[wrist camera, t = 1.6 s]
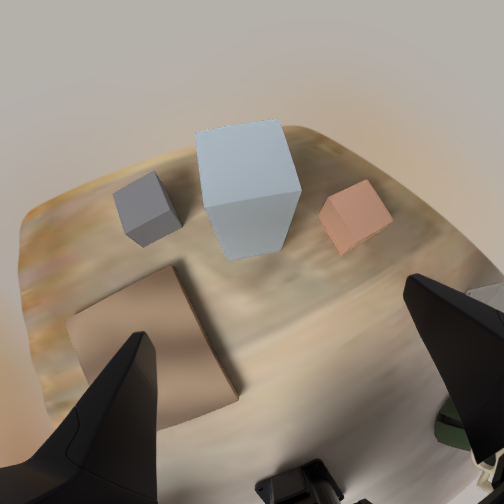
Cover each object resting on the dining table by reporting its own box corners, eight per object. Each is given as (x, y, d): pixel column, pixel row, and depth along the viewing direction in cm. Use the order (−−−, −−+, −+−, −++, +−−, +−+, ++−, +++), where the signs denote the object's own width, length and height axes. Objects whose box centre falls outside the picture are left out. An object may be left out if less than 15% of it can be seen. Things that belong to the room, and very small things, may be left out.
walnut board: (239, 396, 20) (238, 400, 19) (124, 437, 19) (118, 441, 18) (174, 267, 23) (170, 264, 22) (71, 321, 21) (64, 320, 20)
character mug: (448, 363, 20) (548, 371, 7) (486, 369, 19) (572, 374, 7) (410, 461, 17) (485, 515, 5) (453, 458, 17) (525, 493, 4)
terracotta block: (374, 235, 23) (393, 220, 19) (340, 255, 23) (356, 242, 19) (352, 199, 24) (367, 179, 20) (317, 216, 24) (328, 197, 20)
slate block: (280, 250, 23) (301, 190, 12) (227, 261, 23) (204, 207, 12) (269, 202, 24) (278, 118, 13) (218, 211, 24) (194, 132, 13)
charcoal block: (182, 227, 24) (170, 209, 20) (143, 247, 23) (124, 234, 19) (167, 192, 25) (154, 170, 21) (130, 211, 24) (112, 193, 20)
